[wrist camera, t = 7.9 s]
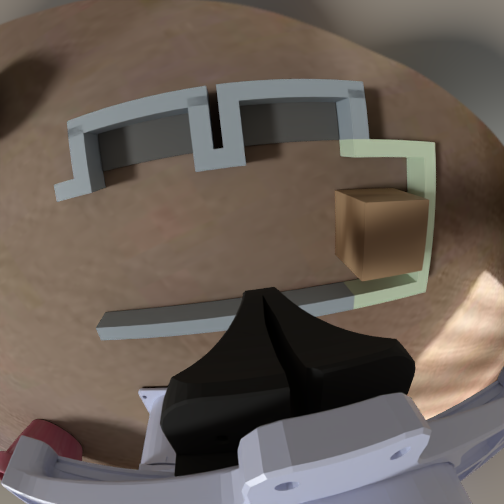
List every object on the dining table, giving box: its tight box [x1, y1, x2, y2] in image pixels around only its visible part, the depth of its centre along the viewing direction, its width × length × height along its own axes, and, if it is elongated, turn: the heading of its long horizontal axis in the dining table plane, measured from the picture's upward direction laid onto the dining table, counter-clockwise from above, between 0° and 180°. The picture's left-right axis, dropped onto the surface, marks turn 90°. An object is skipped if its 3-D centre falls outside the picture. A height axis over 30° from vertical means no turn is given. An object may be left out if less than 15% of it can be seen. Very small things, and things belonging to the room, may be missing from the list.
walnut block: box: [335, 188, 429, 281], centre depth 19 cm, size 5×5×5 cm
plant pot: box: [0, 419, 82, 481], centre depth 22 cm, size 14×14×13 cm
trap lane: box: [54, 79, 436, 340], centre depth 19 cm, size 16×27×2 cm, turn 96°
